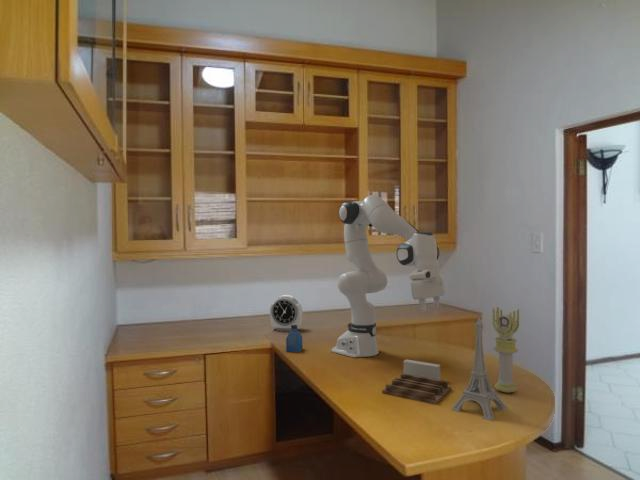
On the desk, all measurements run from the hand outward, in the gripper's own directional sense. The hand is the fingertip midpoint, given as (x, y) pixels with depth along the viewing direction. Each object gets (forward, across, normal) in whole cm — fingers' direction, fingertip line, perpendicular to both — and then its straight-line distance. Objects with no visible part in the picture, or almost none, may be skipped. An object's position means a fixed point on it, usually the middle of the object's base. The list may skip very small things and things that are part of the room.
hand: (430, 309), depth 175 cm
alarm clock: (+15, -29, -108) cm, 112 cm away
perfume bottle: (+20, -1, -75) cm, 78 cm away
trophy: (+30, -9, +22) cm, 39 cm away
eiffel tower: (+31, +12, +21) cm, 40 cm away
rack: (+28, +11, -2) cm, 31 cm away
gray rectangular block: (+27, -4, -8) cm, 29 cm away
